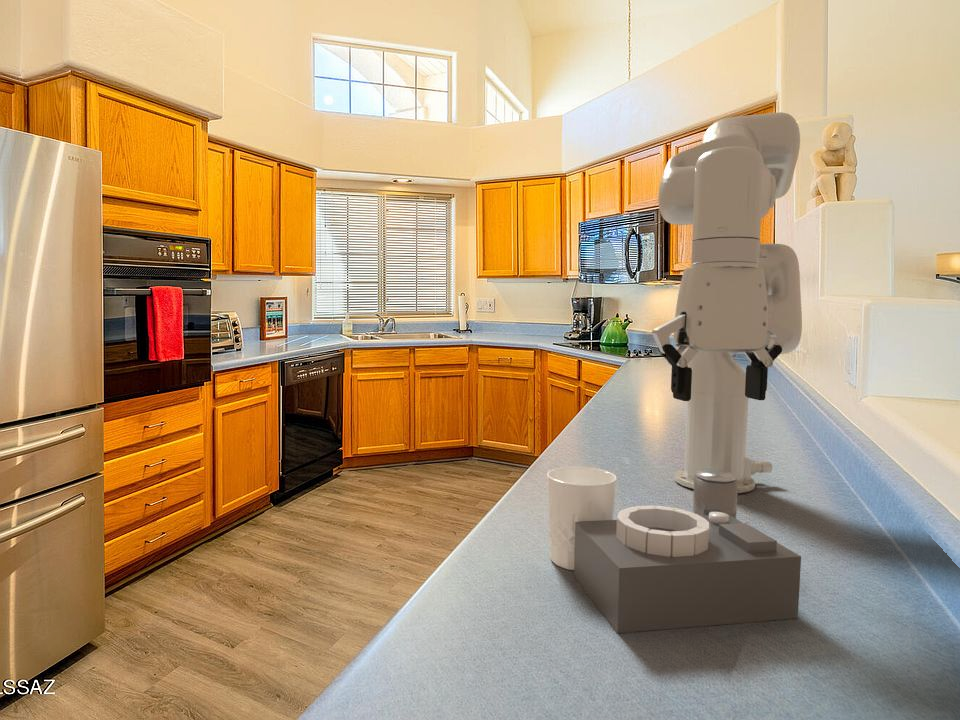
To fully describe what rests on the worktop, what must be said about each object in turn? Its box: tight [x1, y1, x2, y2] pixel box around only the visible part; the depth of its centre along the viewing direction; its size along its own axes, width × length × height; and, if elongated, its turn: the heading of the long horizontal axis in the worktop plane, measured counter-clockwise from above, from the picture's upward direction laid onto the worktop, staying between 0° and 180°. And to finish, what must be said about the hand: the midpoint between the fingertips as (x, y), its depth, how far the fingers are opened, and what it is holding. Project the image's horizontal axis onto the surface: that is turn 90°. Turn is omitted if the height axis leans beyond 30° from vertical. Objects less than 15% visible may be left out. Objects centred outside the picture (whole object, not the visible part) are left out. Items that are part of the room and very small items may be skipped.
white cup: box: [546, 466, 618, 571], centre depth 70 cm, size 8×8×10 cm
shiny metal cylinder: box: [692, 469, 738, 519], centre depth 75 cm, size 5×5×9 cm
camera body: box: [573, 504, 802, 634], centre depth 61 cm, size 18×12×8 cm, turn 100°
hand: (718, 399), depth 74 cm, fingers open, 9 cm apart
